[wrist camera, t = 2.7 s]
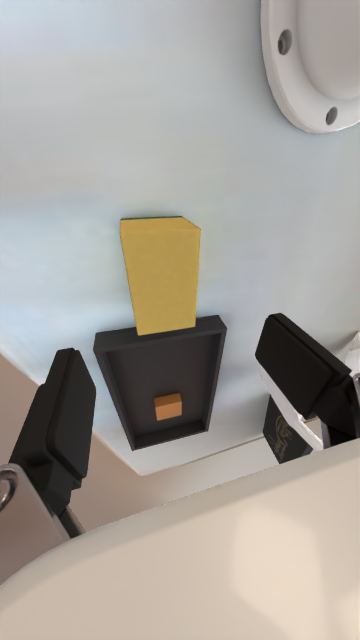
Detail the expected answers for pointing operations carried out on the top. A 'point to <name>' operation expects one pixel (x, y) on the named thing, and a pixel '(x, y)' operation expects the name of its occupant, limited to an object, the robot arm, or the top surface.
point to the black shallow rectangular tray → (162, 377)
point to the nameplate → (283, 436)
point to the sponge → (161, 271)
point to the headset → (355, 360)
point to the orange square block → (168, 406)
